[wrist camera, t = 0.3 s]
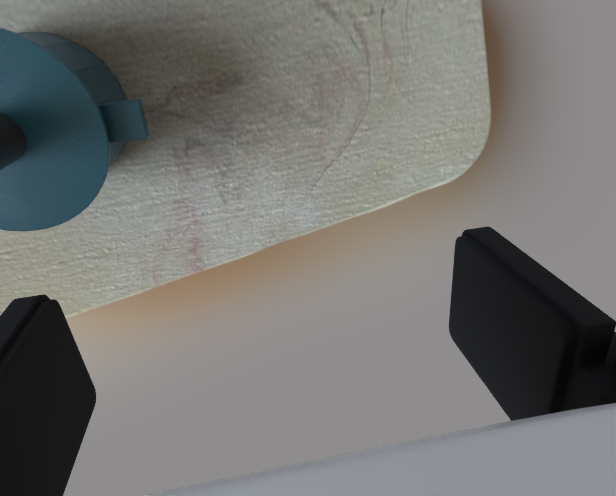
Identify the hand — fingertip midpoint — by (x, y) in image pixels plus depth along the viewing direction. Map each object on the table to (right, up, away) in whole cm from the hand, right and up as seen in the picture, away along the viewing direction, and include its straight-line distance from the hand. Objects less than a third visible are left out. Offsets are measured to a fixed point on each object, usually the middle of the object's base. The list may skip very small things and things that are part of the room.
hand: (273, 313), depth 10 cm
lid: (-18, +8, +16) cm, 26 cm away
